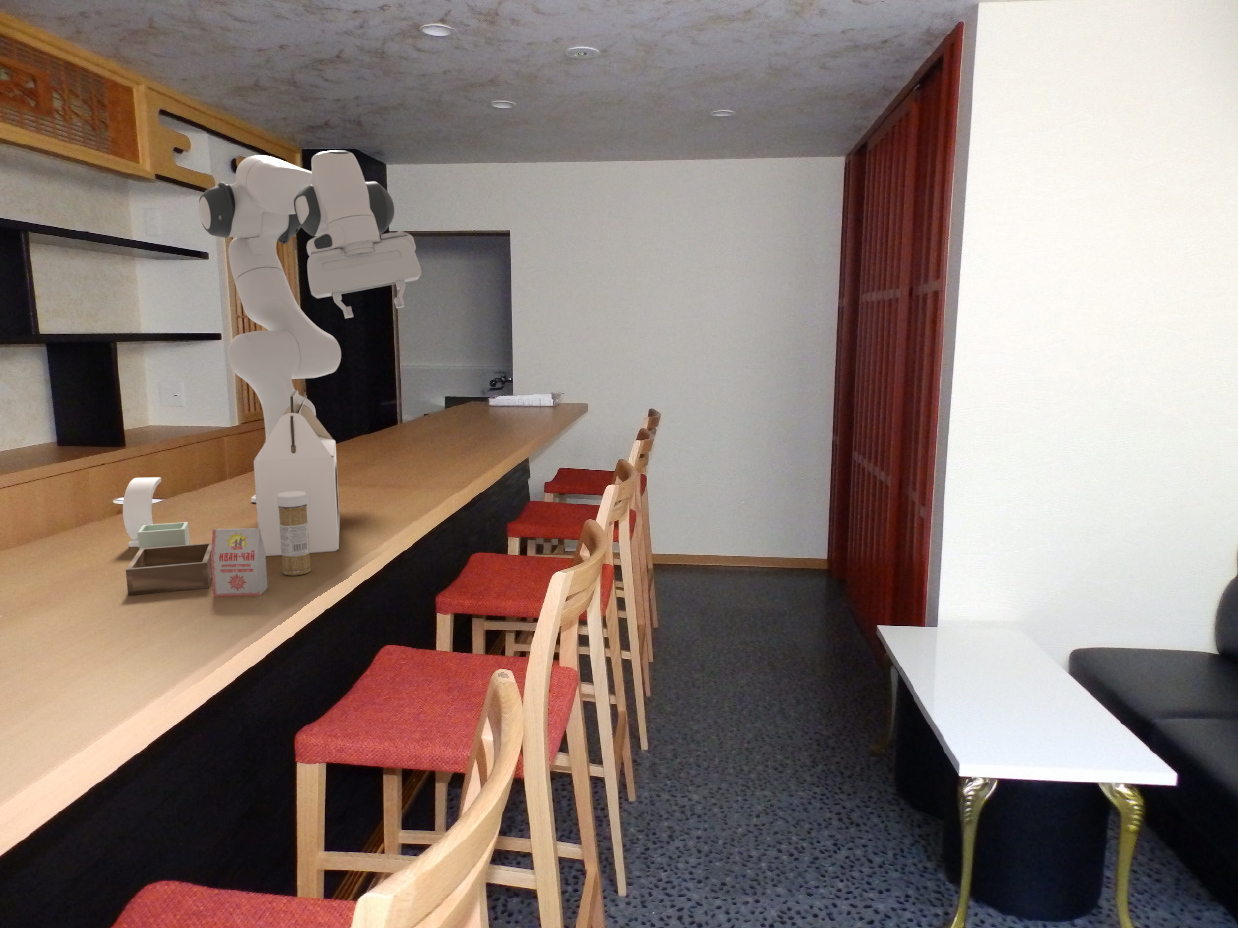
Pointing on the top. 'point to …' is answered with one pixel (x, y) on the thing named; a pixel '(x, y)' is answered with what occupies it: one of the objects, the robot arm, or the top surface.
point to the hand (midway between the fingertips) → (375, 312)
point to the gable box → (298, 478)
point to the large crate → (170, 569)
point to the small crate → (163, 535)
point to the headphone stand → (138, 506)
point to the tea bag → (238, 562)
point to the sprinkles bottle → (294, 532)
